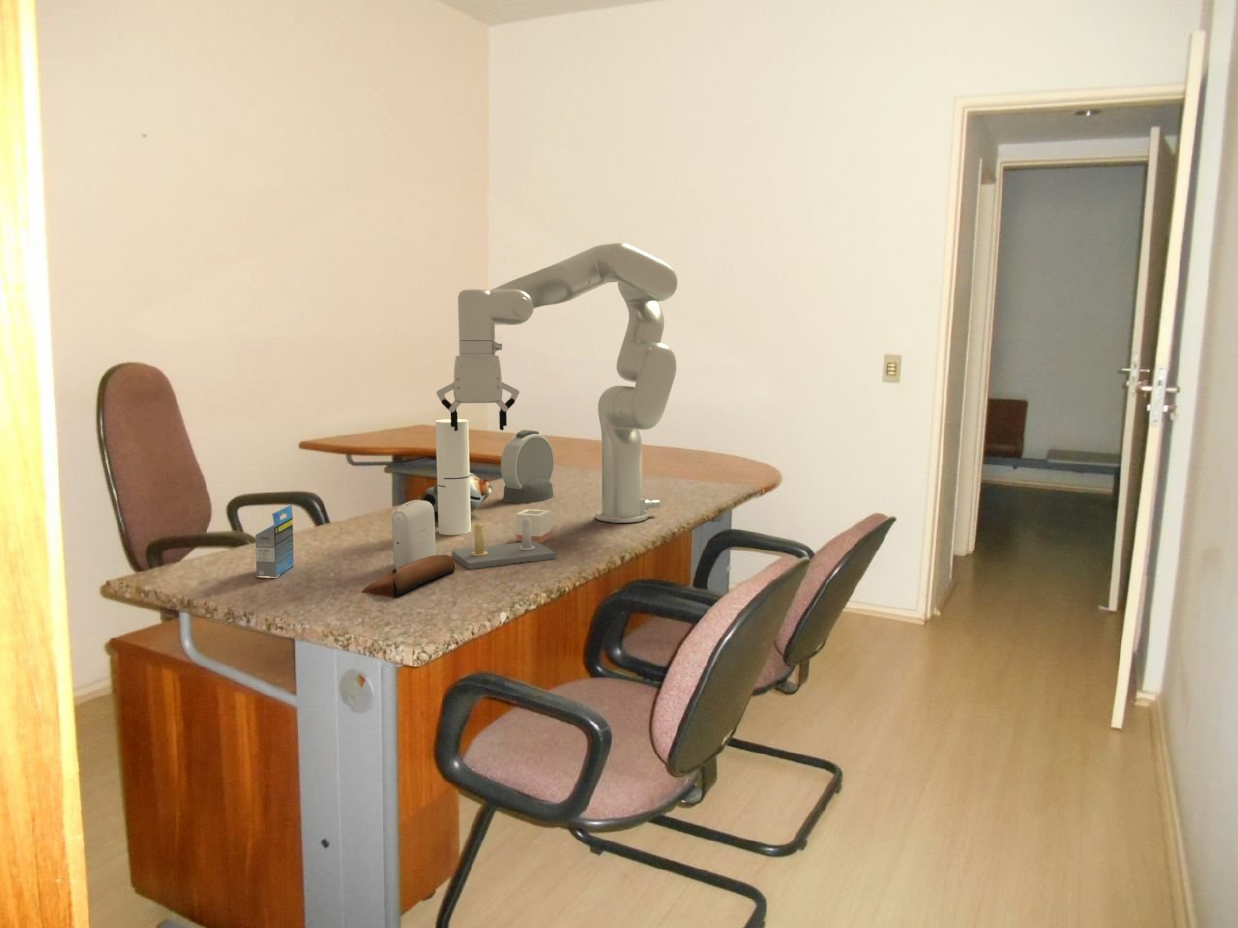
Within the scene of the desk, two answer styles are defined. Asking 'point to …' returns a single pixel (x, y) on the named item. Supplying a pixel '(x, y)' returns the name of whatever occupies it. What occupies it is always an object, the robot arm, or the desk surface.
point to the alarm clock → (527, 468)
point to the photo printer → (413, 532)
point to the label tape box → (275, 545)
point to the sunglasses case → (411, 576)
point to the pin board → (502, 550)
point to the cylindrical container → (453, 477)
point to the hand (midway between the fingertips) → (478, 430)
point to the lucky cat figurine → (477, 493)
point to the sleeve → (534, 524)
